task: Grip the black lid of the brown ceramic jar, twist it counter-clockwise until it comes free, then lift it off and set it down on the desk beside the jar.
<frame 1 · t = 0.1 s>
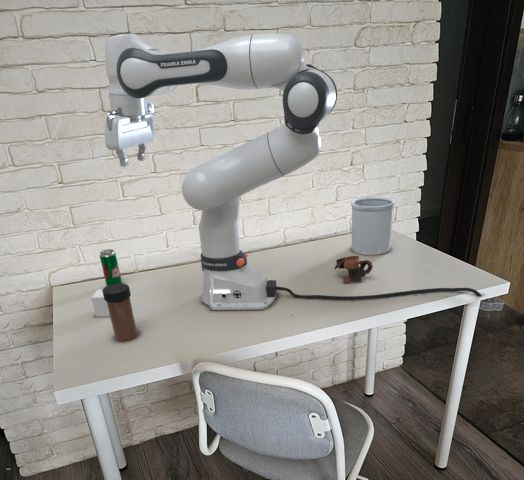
hand: (133, 163, 131), 39 cm above the table, tool pointing down, fingers open, 8 cm apart
white cube: (109, 312, 141), on the table
lid: (116, 290, 120), point 13 cm above the table, screwed on, not yet turned
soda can: (114, 287, 158), on the table
coffee jar: (126, 335, 126), on the table
utensil holder: (370, 249, 176), on the table
pottery mug: (353, 278, 153), on the table
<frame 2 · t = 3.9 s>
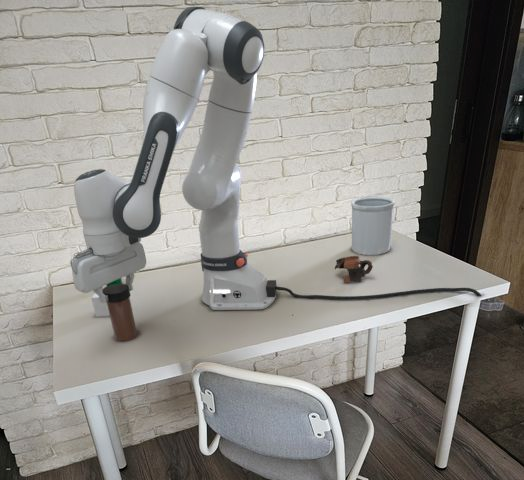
hand: (117, 296, 121), 11 cm above the table, tool pointing down, fingers closed on lid, 6 cm apart
lid: (115, 290, 120), point 13 cm above the table, screwed on, not yet turned, touching gripper
everything else where it was.
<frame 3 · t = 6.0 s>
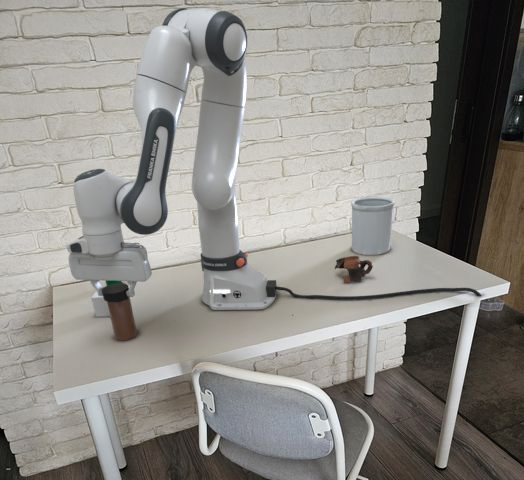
hand: (116, 295, 121), 11 cm above the table, tool pointing down, fingers closed on lid, 6 cm apart
lid: (115, 289, 120), point 13 cm above the table, off its thread, touching gripper
everything else where it was.
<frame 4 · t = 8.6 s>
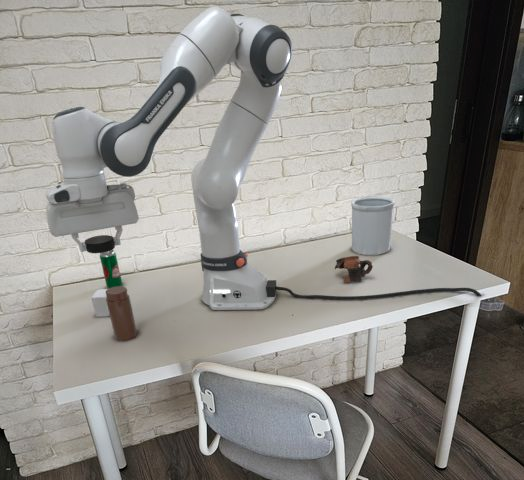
hand: (100, 247, 115), 24 cm above the table, tool pointing down, fingers closed on lid, 6 cm apart
lid: (99, 241, 114), point 26 cm above the table, off its thread, touching gripper
everything else where it was.
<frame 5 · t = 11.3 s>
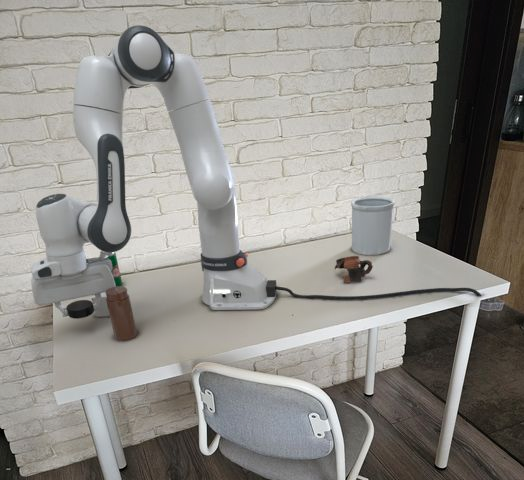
hand: (81, 312, 127), 6 cm above the table, tool pointing down, fingers closed on lid, 6 cm apart
lid: (79, 306, 126), point 8 cm above the table, off its thread, touching gripper
everything else where it was.
when the fingers open (0 cm above the table, at t = 13.5 s): lid stays where it is, point 2 cm above the table.
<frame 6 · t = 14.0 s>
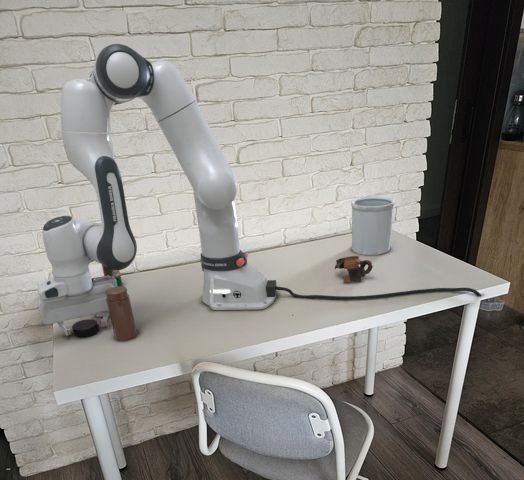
hand: (86, 330, 129), 1 cm above the table, tool pointing down, fingers open, 8 cm apart
lid: (85, 325, 129), point 2 cm above the table, off its thread
everything else where it was.
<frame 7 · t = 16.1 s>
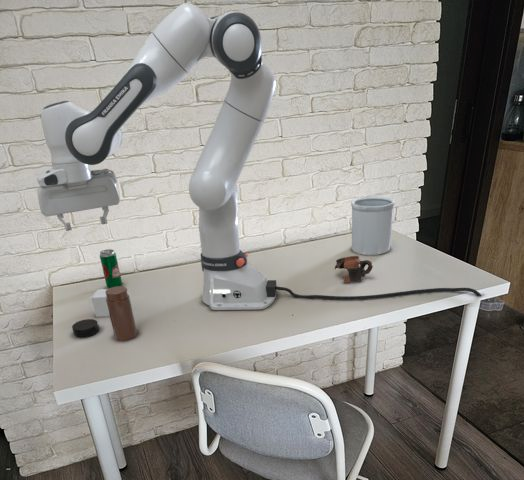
hand: (86, 226, 129), 25 cm above the table, tool pointing down, fingers open, 8 cm apart
nothing on the table moved.
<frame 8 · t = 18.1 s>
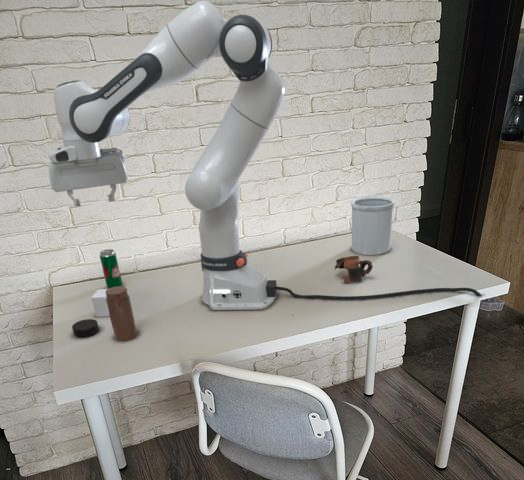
hand: (95, 203, 134), 29 cm above the table, tool pointing down, fingers open, 8 cm apart
nothing on the table moved.
at the end: lid inside the target area (0.2 cm from its centre), point 1.9 cm above the table; coffee jar tilted 0°; coffee jar moved 0.2 cm from its start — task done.
